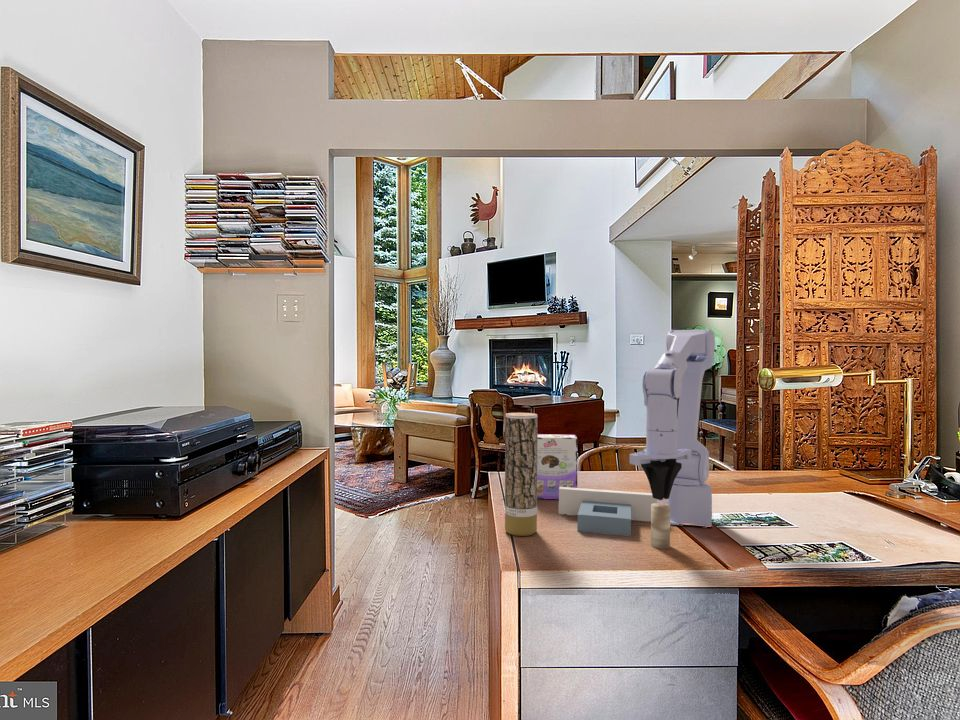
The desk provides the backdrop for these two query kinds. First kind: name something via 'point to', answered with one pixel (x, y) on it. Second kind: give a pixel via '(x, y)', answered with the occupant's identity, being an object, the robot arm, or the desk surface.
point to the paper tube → (521, 473)
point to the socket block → (604, 518)
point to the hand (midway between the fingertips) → (660, 498)
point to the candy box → (555, 464)
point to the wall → (606, 501)
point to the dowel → (660, 525)
